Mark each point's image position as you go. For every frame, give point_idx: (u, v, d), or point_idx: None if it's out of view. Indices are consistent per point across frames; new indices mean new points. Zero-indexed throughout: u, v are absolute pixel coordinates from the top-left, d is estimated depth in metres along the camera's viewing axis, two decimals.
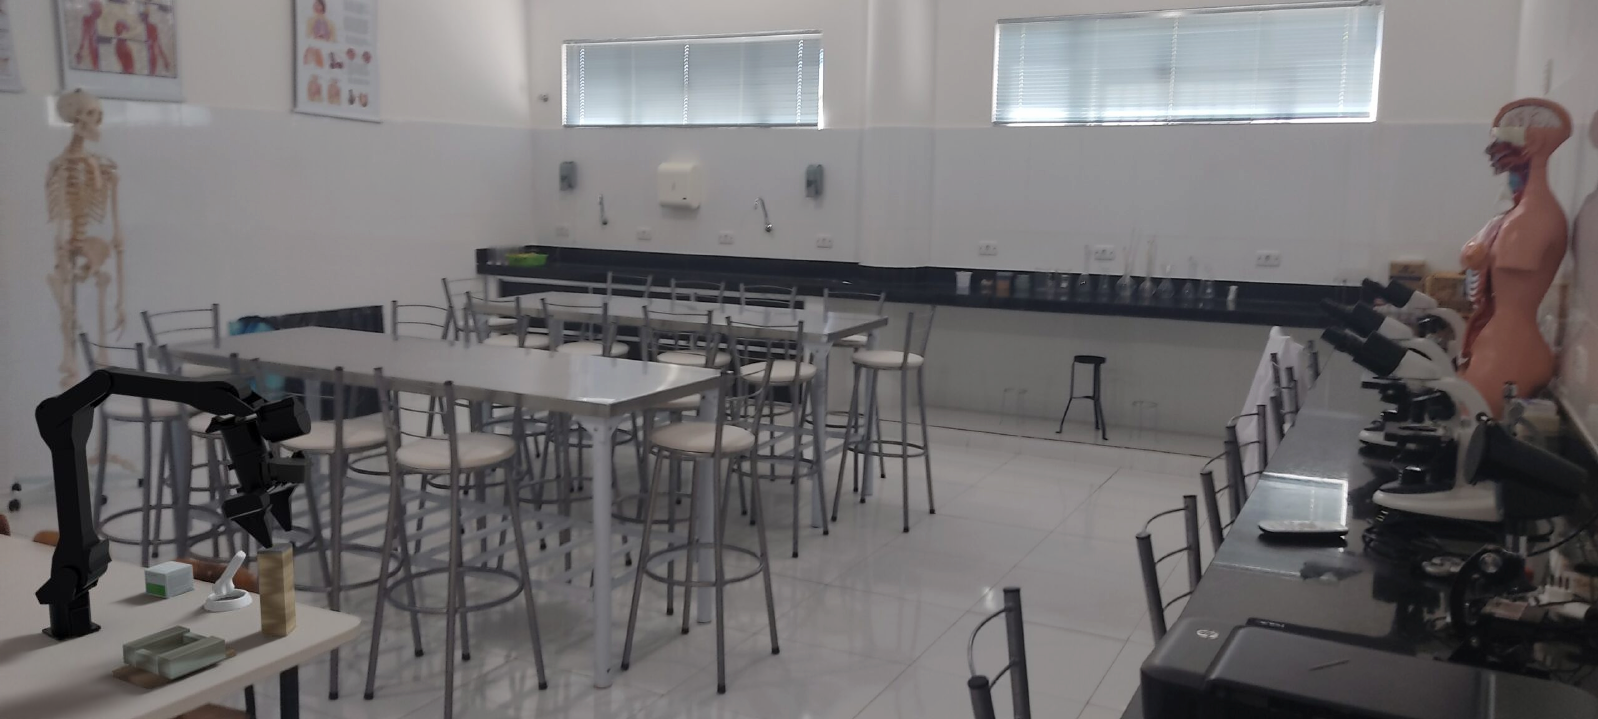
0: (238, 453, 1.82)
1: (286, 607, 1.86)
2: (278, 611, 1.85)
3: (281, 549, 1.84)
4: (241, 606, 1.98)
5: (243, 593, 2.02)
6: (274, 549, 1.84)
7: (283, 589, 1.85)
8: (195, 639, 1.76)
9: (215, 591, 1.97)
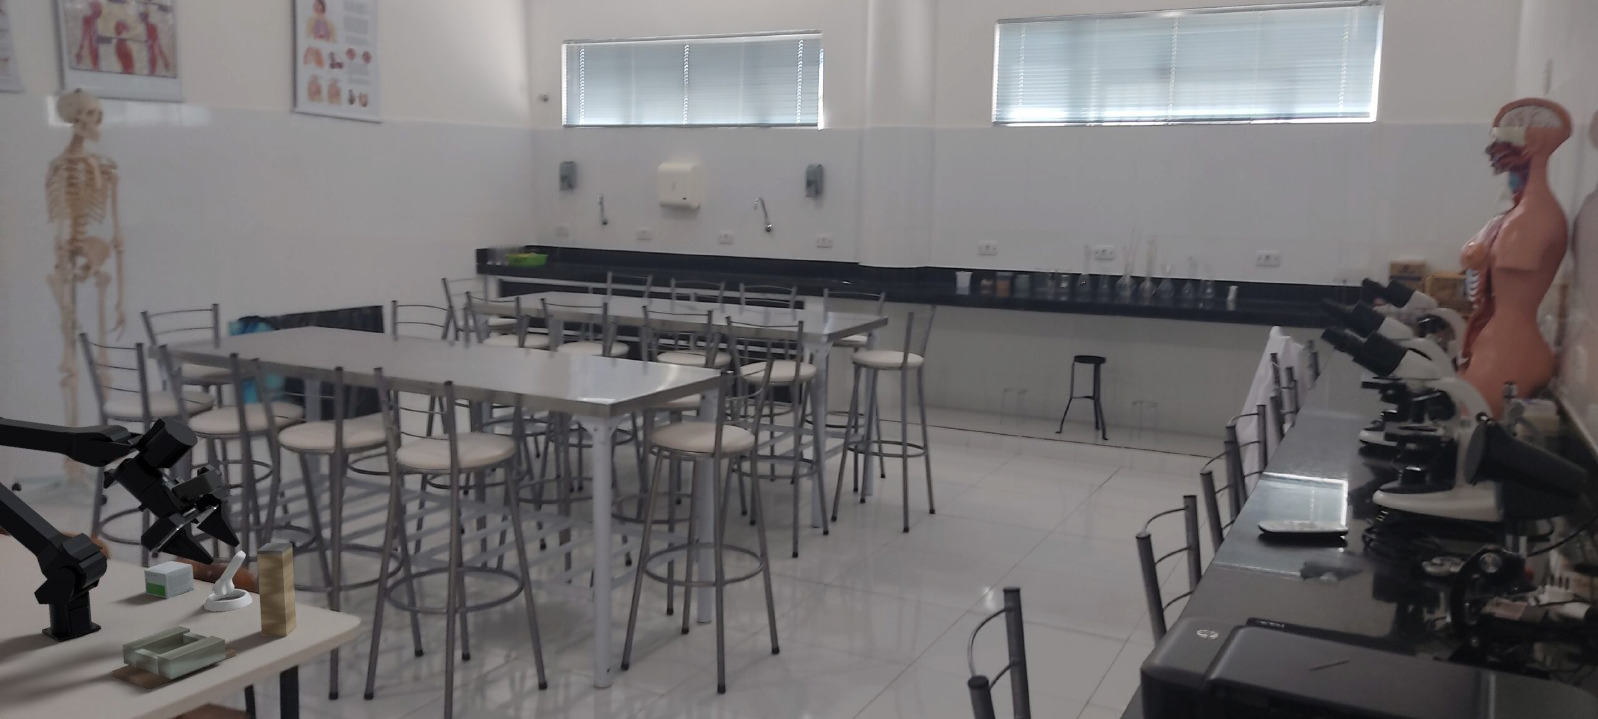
0: (140, 491, 1.81)
1: (286, 607, 1.86)
2: (278, 611, 1.85)
3: (281, 549, 1.84)
4: (241, 606, 1.98)
5: (243, 593, 2.02)
6: (274, 549, 1.84)
7: (283, 589, 1.85)
8: (195, 639, 1.76)
9: (215, 591, 1.97)
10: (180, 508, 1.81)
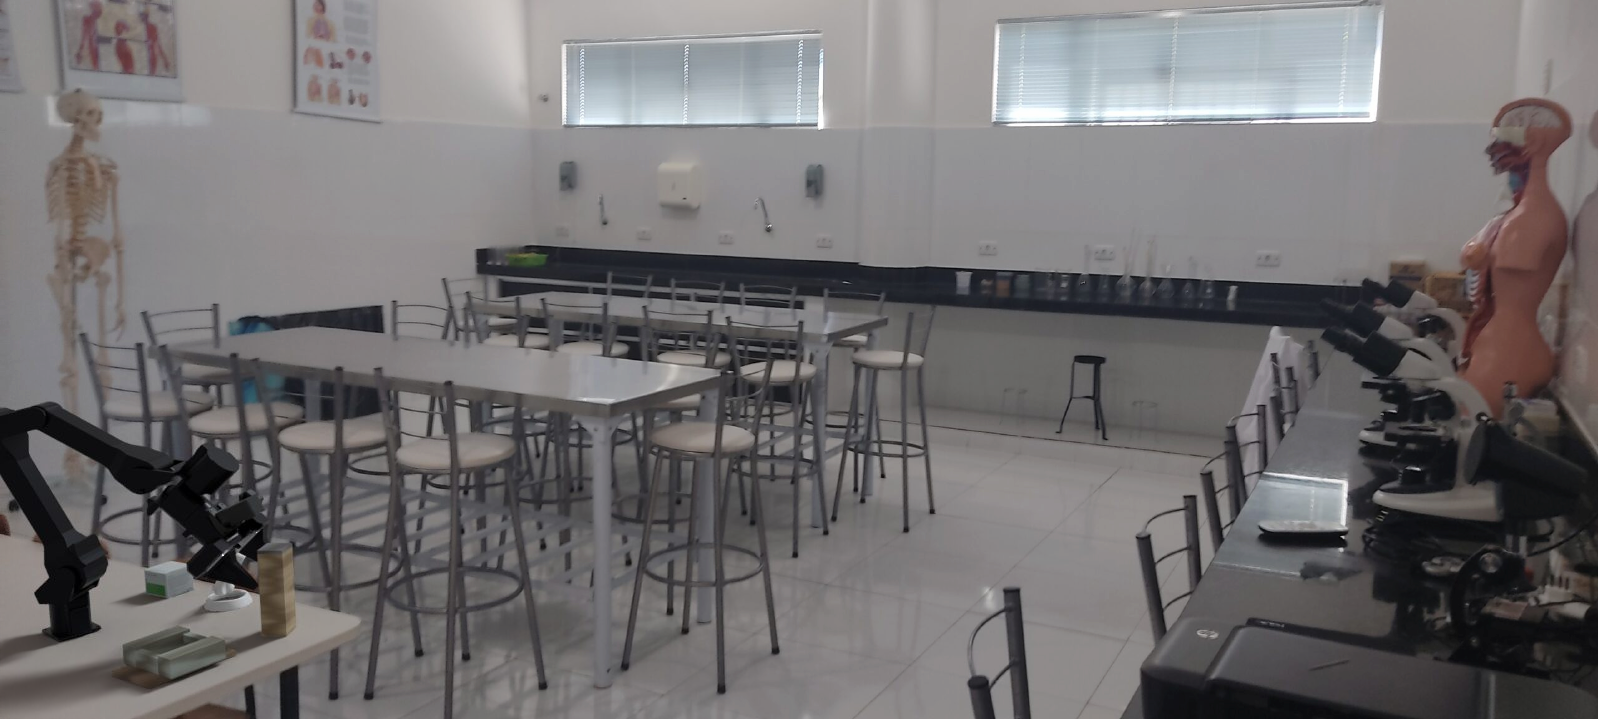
0: (184, 518, 1.81)
1: (286, 607, 1.86)
2: (278, 611, 1.85)
3: (281, 549, 1.84)
4: (241, 606, 1.98)
5: (243, 593, 2.02)
6: (274, 549, 1.84)
7: (283, 589, 1.85)
8: (195, 639, 1.76)
9: (215, 591, 1.97)
10: (224, 534, 1.82)
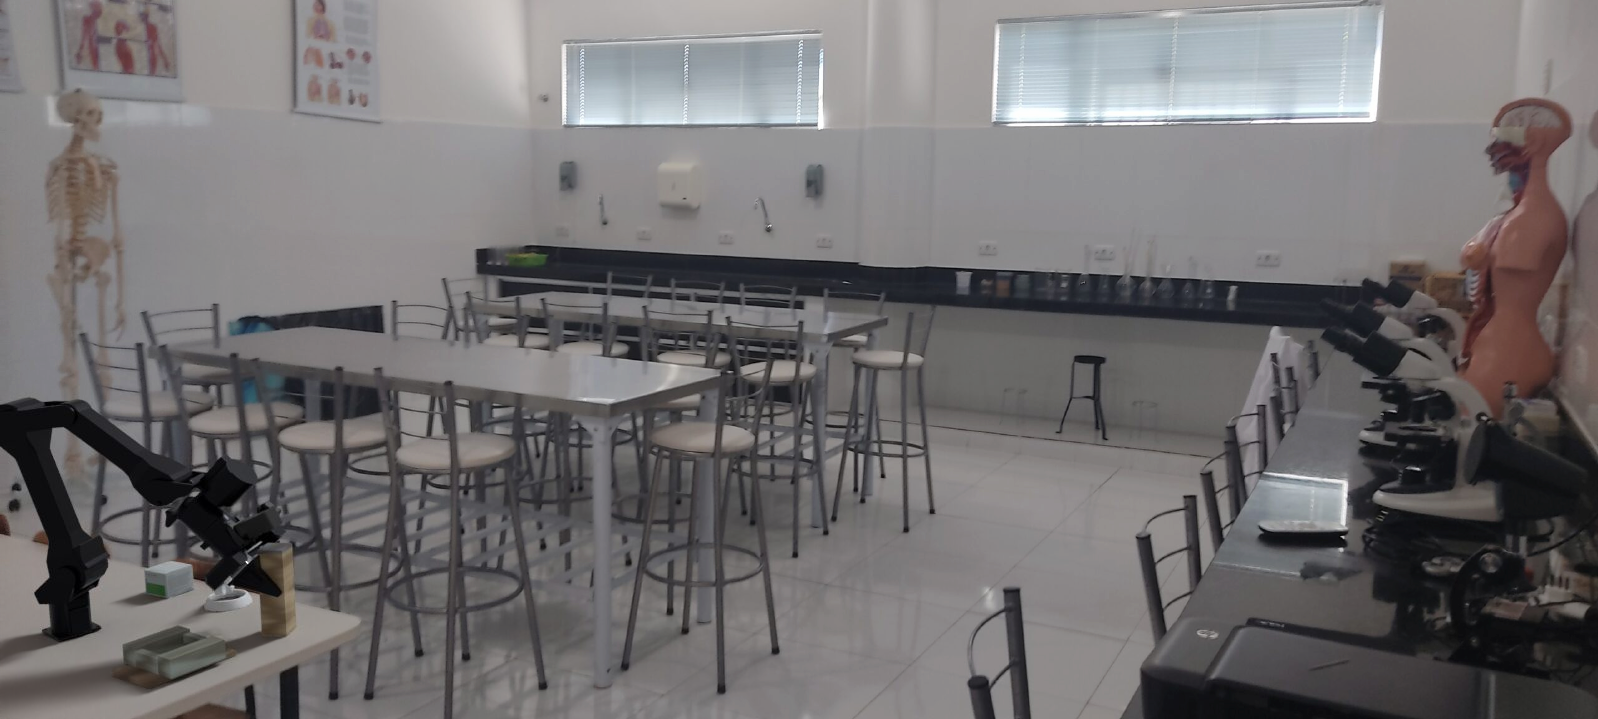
0: (202, 530, 1.82)
1: (286, 607, 1.86)
2: (278, 611, 1.85)
3: (281, 549, 1.84)
4: (241, 606, 1.98)
5: (243, 593, 2.02)
6: (274, 549, 1.84)
7: (283, 589, 1.85)
8: (195, 639, 1.76)
9: (215, 591, 1.97)
10: (242, 546, 1.82)
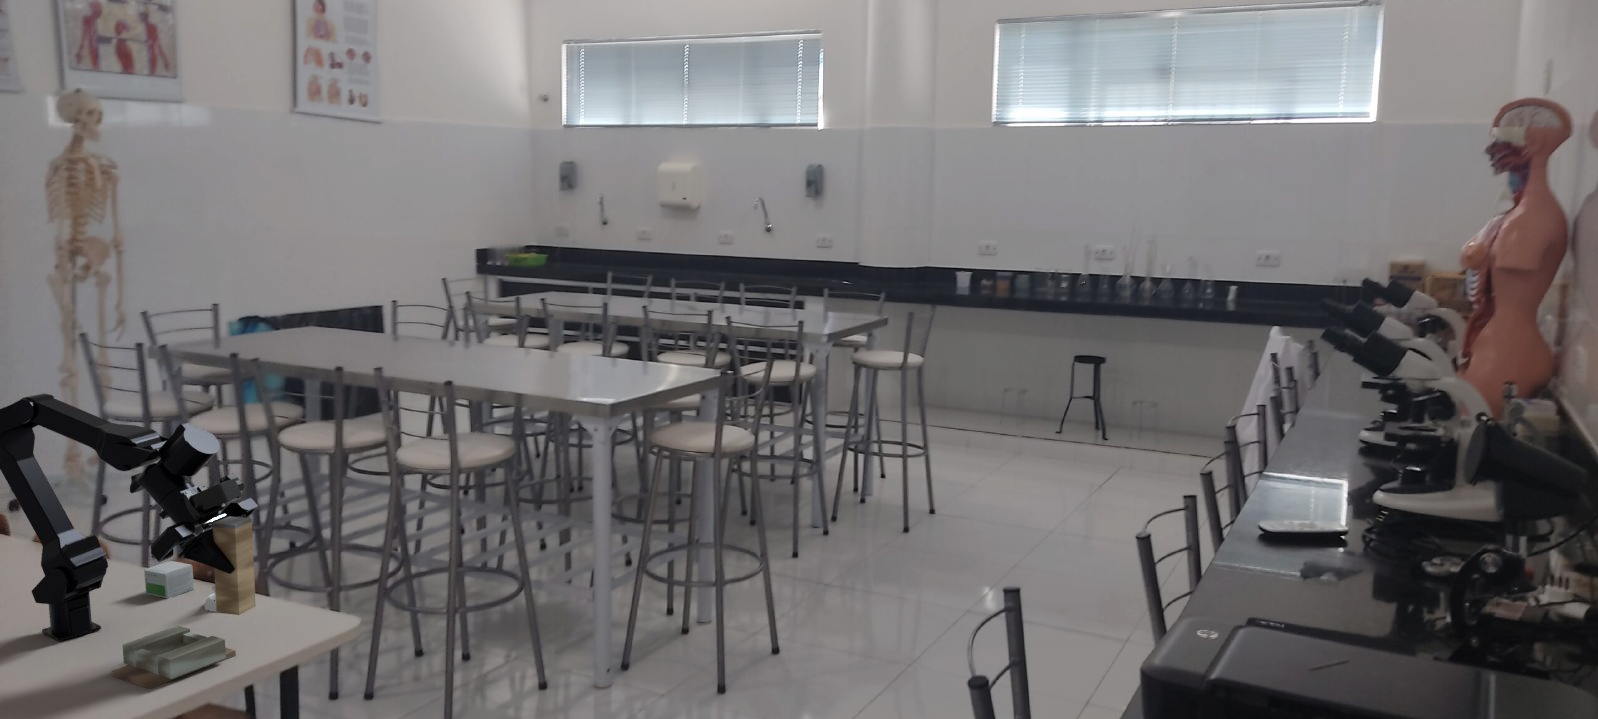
0: (160, 498, 1.76)
1: (240, 584, 1.78)
2: (231, 588, 1.77)
3: (235, 524, 1.76)
4: None
5: None
6: (228, 523, 1.76)
7: (236, 566, 1.77)
8: (195, 639, 1.76)
9: None
10: (196, 518, 1.76)
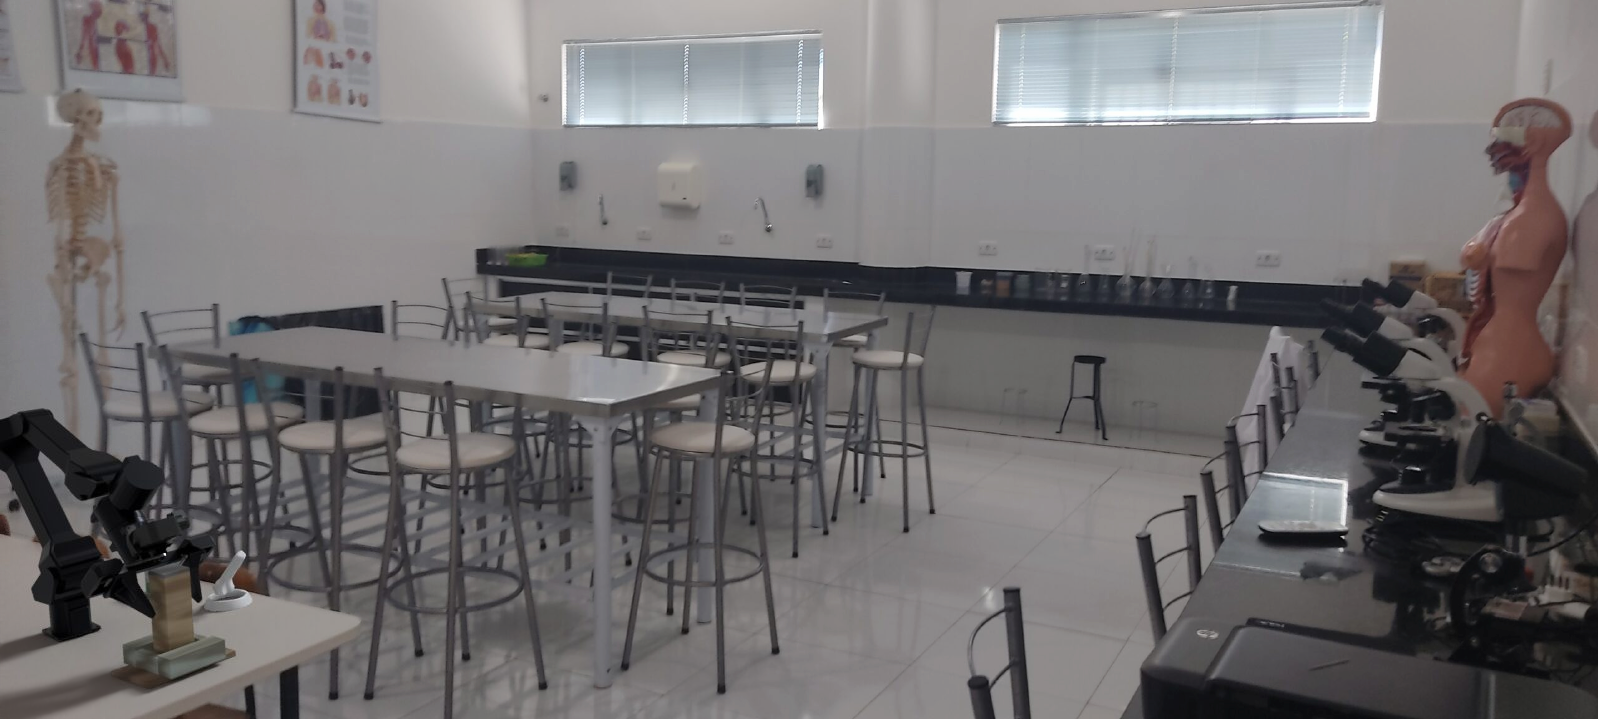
0: (108, 531, 1.73)
1: (172, 636, 1.71)
2: (164, 639, 1.71)
3: (166, 573, 1.70)
4: (241, 606, 1.98)
5: (243, 593, 2.02)
6: (161, 572, 1.70)
7: (166, 617, 1.70)
8: (195, 639, 1.76)
9: (215, 591, 1.97)
10: (133, 554, 1.71)
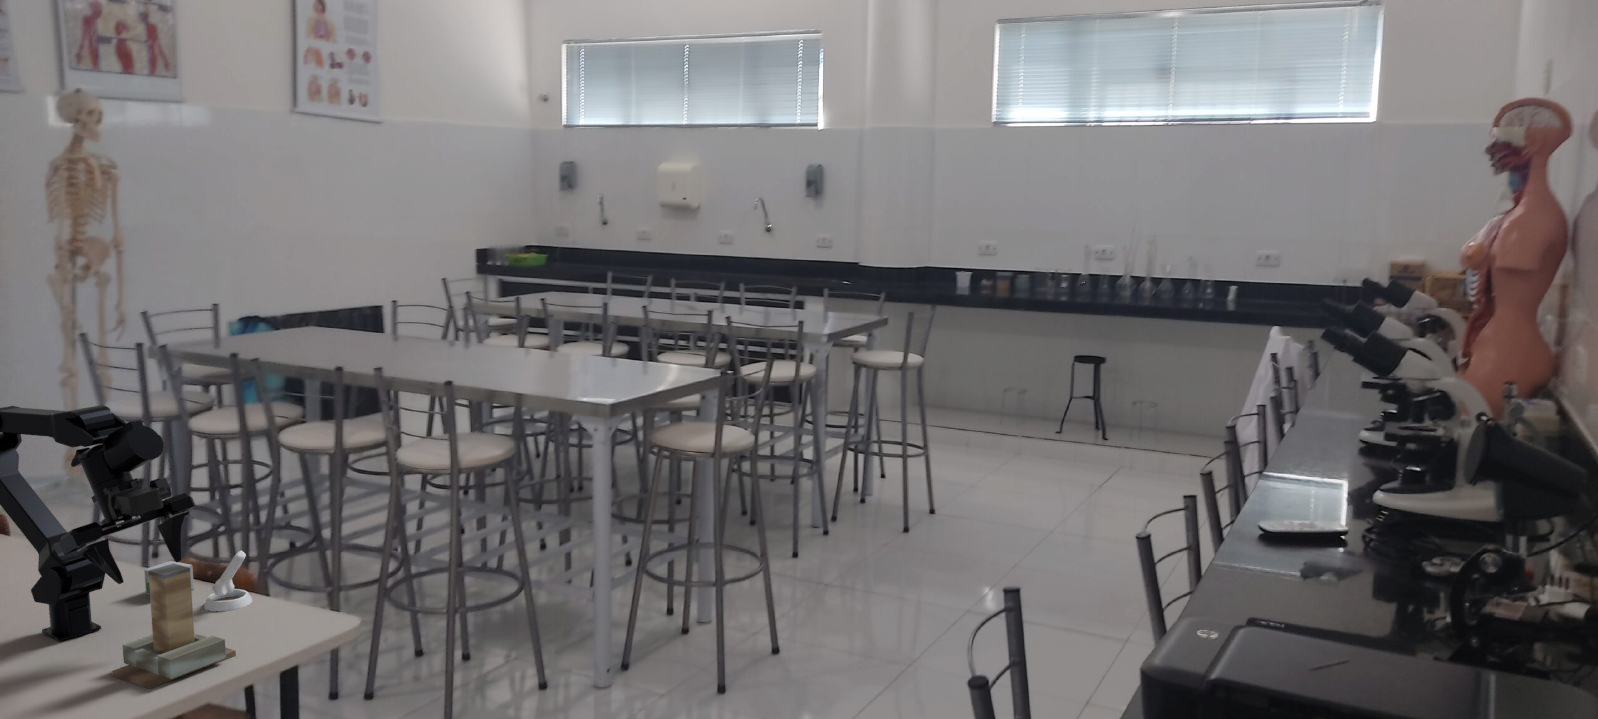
0: (93, 484, 1.76)
1: (172, 636, 1.71)
2: (164, 639, 1.71)
3: (166, 573, 1.70)
4: (241, 606, 1.98)
5: (243, 593, 2.02)
6: (162, 572, 1.70)
7: (167, 617, 1.70)
8: (195, 639, 1.76)
9: (215, 591, 1.97)
10: (113, 518, 1.75)
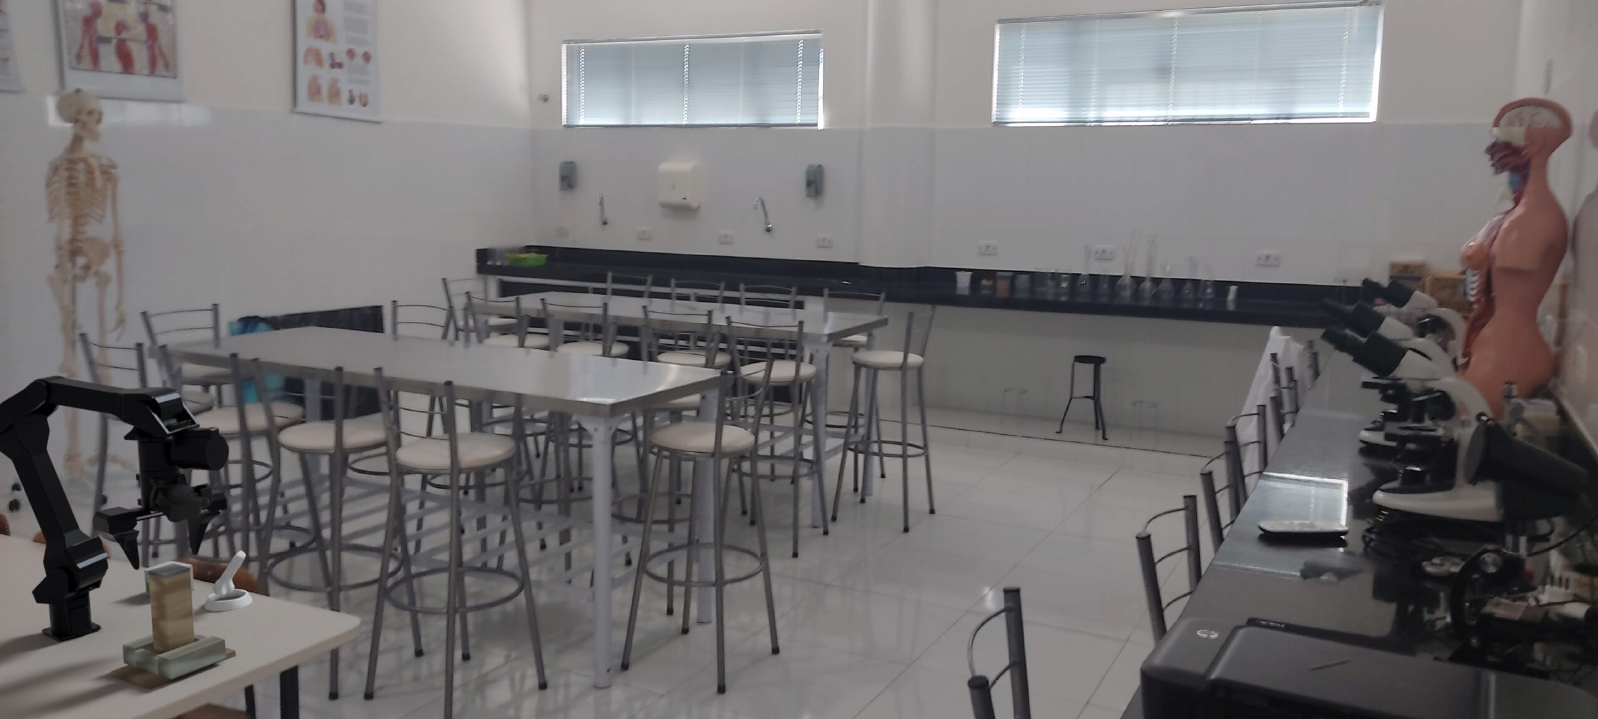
0: (145, 469, 1.77)
1: (172, 636, 1.71)
2: (164, 639, 1.71)
3: (166, 573, 1.70)
4: (241, 606, 1.98)
5: (243, 593, 2.02)
6: (162, 572, 1.70)
7: (167, 617, 1.70)
8: (195, 639, 1.76)
9: (215, 591, 1.97)
10: (150, 509, 1.77)
